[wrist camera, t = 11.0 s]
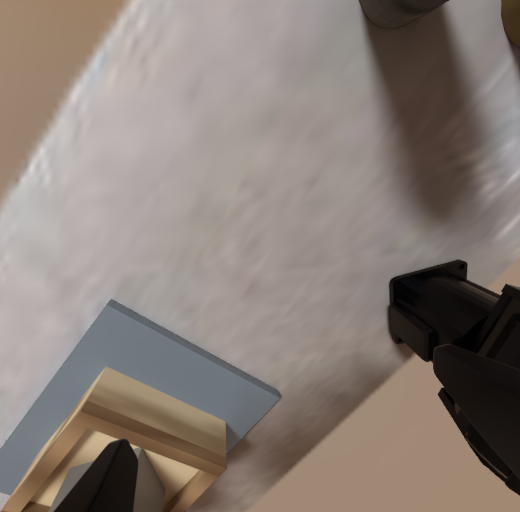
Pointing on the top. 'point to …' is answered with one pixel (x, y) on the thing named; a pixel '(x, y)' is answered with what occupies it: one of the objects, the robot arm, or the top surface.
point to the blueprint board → (143, 370)
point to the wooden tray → (137, 433)
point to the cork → (511, 19)
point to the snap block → (147, 485)
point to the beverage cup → (397, 11)
